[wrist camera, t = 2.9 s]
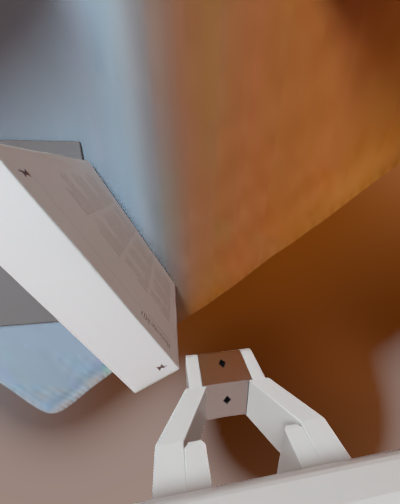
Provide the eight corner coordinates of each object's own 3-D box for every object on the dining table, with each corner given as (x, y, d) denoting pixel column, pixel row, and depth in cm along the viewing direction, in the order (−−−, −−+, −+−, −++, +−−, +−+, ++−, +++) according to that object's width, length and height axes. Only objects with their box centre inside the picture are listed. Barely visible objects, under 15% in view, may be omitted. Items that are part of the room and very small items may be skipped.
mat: (80, 142, 26) (79, 141, 25) (108, 315, 33) (107, 316, 33) (-92, 138, 23) (-96, 137, 23) (-18, 326, 31) (-20, 327, 31)
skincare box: (51, 181, 26) (-98, 179, 11) (88, 159, 26) (-12, 127, 11) (147, 302, 33) (134, 398, 19) (176, 285, 33) (186, 367, 19)
